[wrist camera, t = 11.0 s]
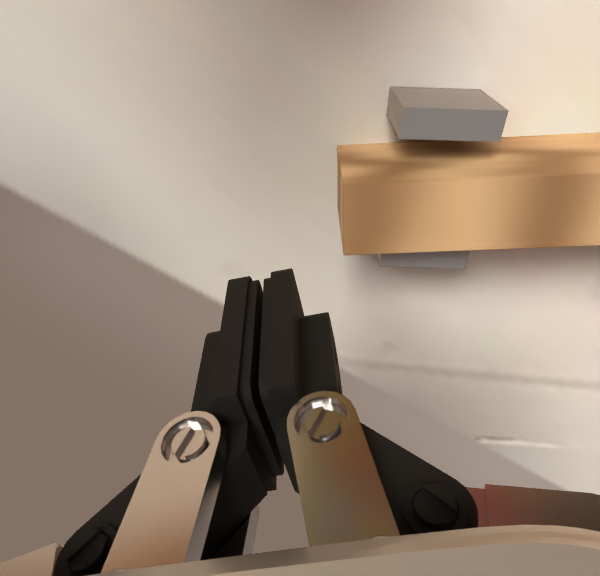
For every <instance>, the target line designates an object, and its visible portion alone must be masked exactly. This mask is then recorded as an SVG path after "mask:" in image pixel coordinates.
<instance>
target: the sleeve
mask: <svg viewBox="0 0 600 576" xmlns="http://www.w3.org/2000/svg"><path fill="white" fill-rule="evenodd" d="M507 114H508V110H507V109H506V108H504V107H503V106H502V105H500V104H499V103H498V102H496V101H495V100H494V99H492V98H491V97H490V96H488V95H487V94H486V93H485V92H483V91H482V90H481V89H450V88H419V87H390V93H389V100H388V108H387V116H388V118H389V120H390V122H391V124H392V126H393V128H394V130H395V132H396V134H397V136H398V138H399V139H419V140H451V141H484V142H500V139H501V135H502V132H503V128H504V125H505V121H506V117H507ZM469 251H470V250H462V251H437V252H411V253H386V254H377V257H378V261H379V265H380V266H387V267H421V268H454V269H465V265H466V261H467V258H468V254H469Z"/></svg>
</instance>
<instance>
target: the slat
mask: <svg viewBox="0 0 600 576" xmlns="http://www.w3.org/2000/svg"><path fill="white" fill-rule="evenodd" d="M337 163H338V212H339V221H340V229H341V237H342V245H343V254H344V255H360V254H386V253H411V252H437V251H462V250H488V249H513V248H539V247H564V246H590V245H600V133H581V134H561V135H541V136H520V137H501V139H500V142H484V141H451V140H439V141H419V142H398V143H378V144H358V145H337Z"/></svg>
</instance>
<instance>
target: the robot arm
mask: <svg viewBox="0 0 600 576" xmlns="http://www.w3.org/2000/svg"><path fill="white" fill-rule="evenodd" d="M284 464H285V466H286V469H287V471H288V474H289V477H290V479H291V482H292V485H293V487H294V490H295V491H296V492H297V493H298V494H300V499H301V504H302V510H303V515H304V520H305V525H306V531H307V536H308V541H309V546H310V547H304V548H296V549H288V550H280V551H272V552H264V553H256V554H252V550H253V545H254V539H255V534H256V529H257V523H258V518H259V507H258V504H259V503H260V502H261V500H262V499H263V498H264V497H265V496H266V495H267V491H272V490H276V476H277V475H283V473H284ZM0 576H600V495H597V494H593V493H583V492H571V491H559V490H548V489H535V488H524V487H513V486H501V485H489V484H486V485H485V489H479V488H468V487H464V486H463V485H462V484H460V483H459V482H458V481H457V480H456V479H454V478H452V477H451V476H449V475H447V474H446V473H444V472H442V471H440V470H439V469H437V468H435V467H434V466H432V465H430V464H429V463H427V462H425V461H424V460H422V459H421V458H419V457H417V456H415V455H414V454H412V453H410V452H409V451H407V450H405V449H404V448H402V447H400V446H399V445H397V444H395V443H394V442H392V441H390V440H389V439H387V438H385V437H383V436H382V435H380V434H379V433H377V432H375V431H374V430H372V429H370V428H369V427H367V426H365V425H364V424H362V423H360V421H359V418H358V415H357V412H356V410H355V408H354V406H353V404H352V403H351V401H350V400H349V399H347V398H346V397H345V396H344V395H343V394H342V387H341V380H340V372H339V365H338V358H337V352H336V346H335V341H334V336H333V331H332V326H331V321H330V317H329V313H328V312H327V313H321V314H315V315H309V316H304V313H303V309H302V305H301V301H300V297H299V293H298V289H297V285H296V281H295V277H294V273H293V270H292V268H291V269H286V270H280V271H275V272H271V278H267V279H264V288H263V291H262V287H261V284H260V282H259V280H256V281H252V279H251V277H250V276H248V277H242V278H237V279H231V280H229V281H228V286H227V292H226V298H225V305H224V311H223V317H222V323H221V330H220V331H217V332H212V333H208V334H207V336H206V338H205V343H204V348H203V353H202V359H201V363H200V369H199V373H198V379H197V384H196V389H195V394H194V399H193V404H192V409H191V412H187V413H185V414H182V415H180V416H178V417H176V418H175V419H173V420H172V421H171V422H169V423H168V424H167V425H166V426H165V427H164V428H163V429H162V430H161V432H160V433H159V435H158V437H157V439H156V440H155V443H154V445H153V448H152V450H151V452H150V455H149V457H148V460H147V462H146V464H145V467H144V469H143V472H142V474H141V475H140V476H138V477H137V478H136V479H135V480H134V481H133V482H132V483H131V484H129V485H128V486H127V487H126V488H125V489H124V490H123V491H122V492H120V493H119V494H118V495H117V496H116V497H115V498H114V499H112V500H111V501H110V502H109V503H108V504H107V505H106V506H105V507H103V508H102V509H101V510H100V511H99V512H98V513H97V514H96V515H94V516H93V517H92V518H91V519H90V520H89V521H88V522H86V523H85V524H84V525H83V526H82V527H81V528H80V529H78V530H77V531H76V532H75V533H74V534H73V536H72V537H71V538H70V539H69V540H68V541H67V542H66V544H65V545H62V546H61V545H59V544H58V543H57V542H56V543H53V544H51V545H48V546H45V547H43V548H40V549H37V550H34V551H32V552H29V553H26V554H24V555H21V556H18V557H16V558H13V559H10V560H8V561H5V562H2V563H0Z"/></svg>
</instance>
